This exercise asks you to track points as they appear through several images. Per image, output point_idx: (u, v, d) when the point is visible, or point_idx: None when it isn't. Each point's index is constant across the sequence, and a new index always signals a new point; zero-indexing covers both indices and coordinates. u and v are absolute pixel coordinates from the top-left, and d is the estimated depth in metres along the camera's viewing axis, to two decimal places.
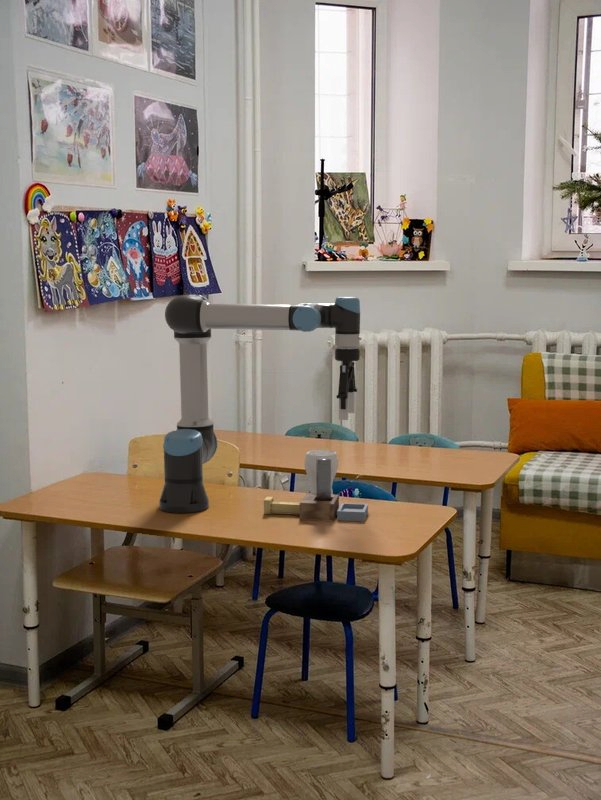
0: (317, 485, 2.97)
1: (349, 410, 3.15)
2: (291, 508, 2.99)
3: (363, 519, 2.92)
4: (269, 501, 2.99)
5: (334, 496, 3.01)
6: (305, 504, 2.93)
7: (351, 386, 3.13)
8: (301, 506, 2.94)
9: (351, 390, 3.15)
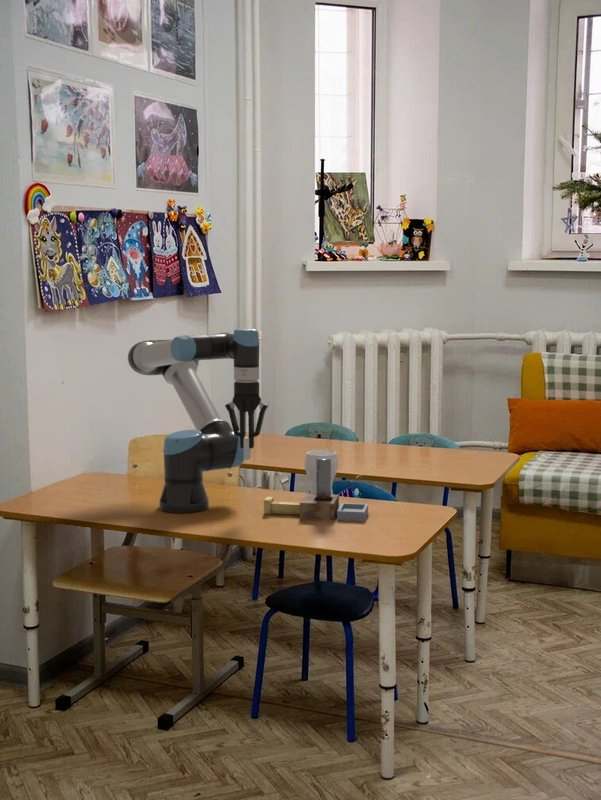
0: (317, 485, 2.97)
1: None
2: (291, 508, 2.99)
3: (363, 519, 2.92)
4: (269, 501, 2.99)
5: (334, 496, 3.01)
6: (305, 504, 2.93)
7: None
8: (301, 506, 2.94)
9: None
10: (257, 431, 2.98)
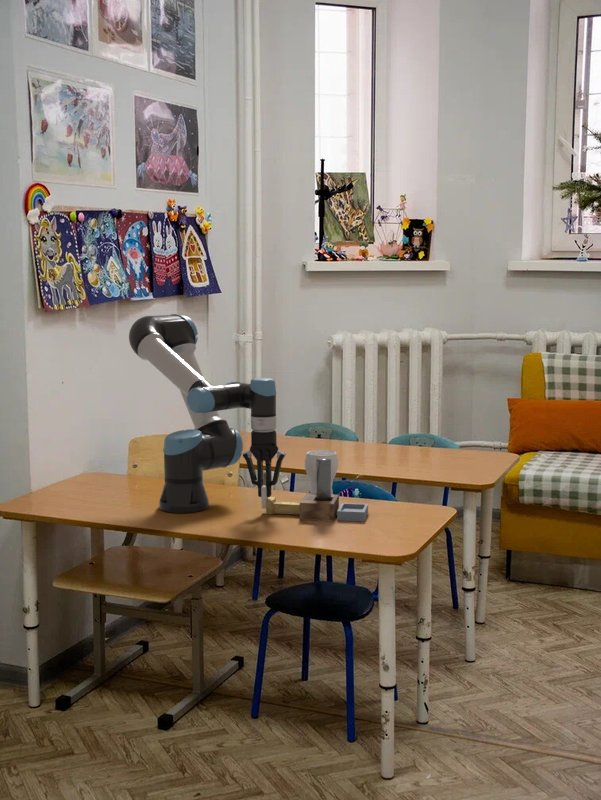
0: (317, 485, 2.97)
1: None
2: (293, 508, 2.99)
3: (363, 519, 2.92)
4: (271, 501, 2.99)
5: (334, 496, 3.01)
6: (305, 504, 2.93)
7: None
8: (301, 506, 2.94)
9: None
10: (274, 480, 2.99)
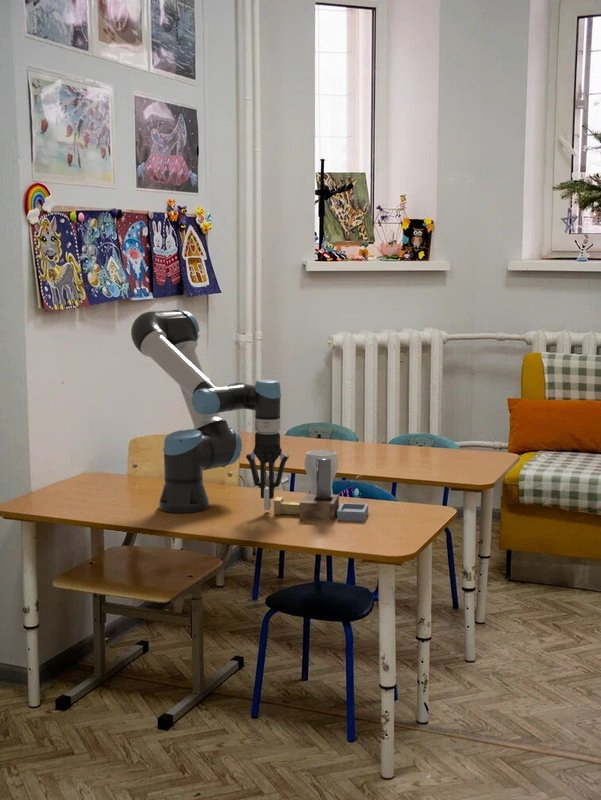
0: (317, 485, 2.97)
1: None
2: None
3: (363, 519, 2.92)
4: (279, 501, 2.98)
5: (334, 496, 3.01)
6: (305, 504, 2.93)
7: None
8: (301, 506, 2.94)
9: None
10: (277, 482, 2.99)
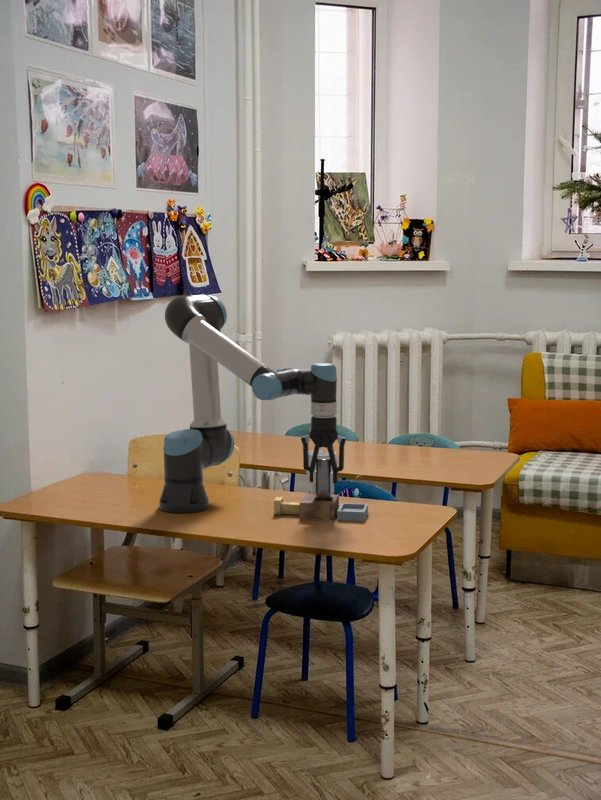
0: (317, 485, 2.97)
1: None
2: None
3: (363, 519, 2.92)
4: (279, 501, 2.98)
5: (334, 496, 3.01)
6: (305, 504, 2.93)
7: None
8: (301, 506, 2.94)
9: None
10: (341, 466, 2.95)
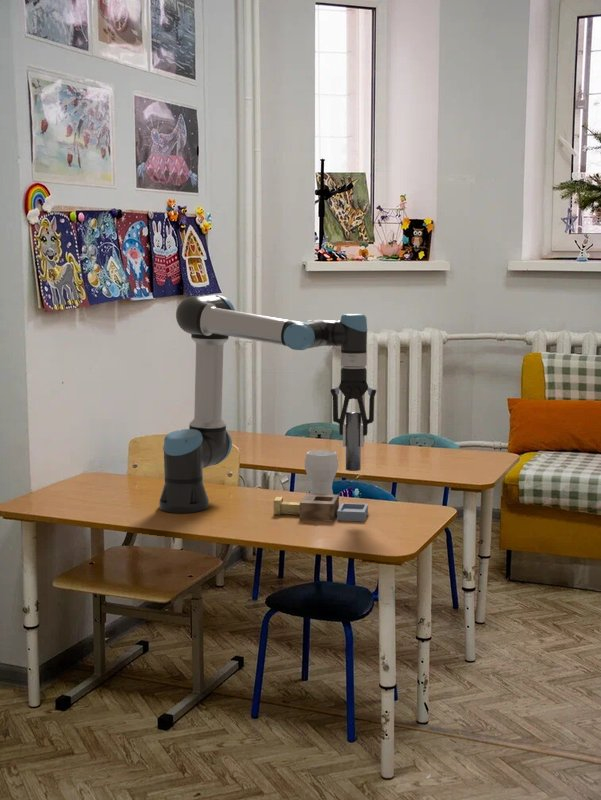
0: (347, 439, 2.93)
1: None
2: None
3: (363, 519, 2.92)
4: (279, 501, 2.98)
5: (334, 496, 3.01)
6: (305, 504, 2.93)
7: (361, 415, 2.92)
8: (301, 506, 2.94)
9: (363, 422, 2.93)
10: (371, 418, 2.91)
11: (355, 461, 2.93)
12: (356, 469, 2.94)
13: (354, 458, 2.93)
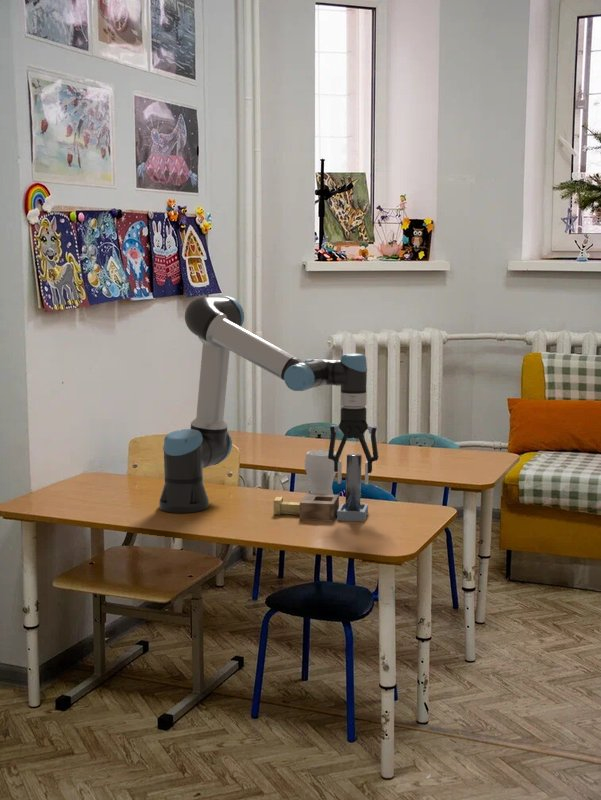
0: (347, 481, 2.95)
1: None
2: None
3: (363, 519, 2.92)
4: (279, 501, 2.98)
5: (334, 496, 3.01)
6: (305, 504, 2.93)
7: None
8: (301, 506, 2.94)
9: None
10: (375, 455, 2.93)
11: (355, 503, 2.95)
12: None
13: (354, 500, 2.95)
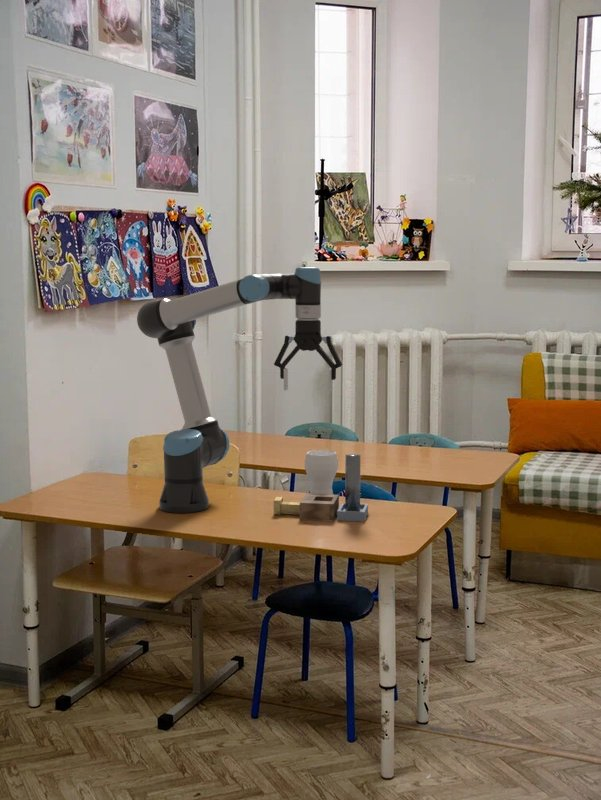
0: (346, 481, 2.95)
1: None
2: None
3: (363, 519, 2.92)
4: (279, 501, 2.98)
5: (334, 496, 3.01)
6: (305, 504, 2.93)
7: None
8: (301, 506, 2.94)
9: None
10: (338, 362, 2.97)
11: (355, 503, 2.95)
12: None
13: (353, 500, 2.95)
